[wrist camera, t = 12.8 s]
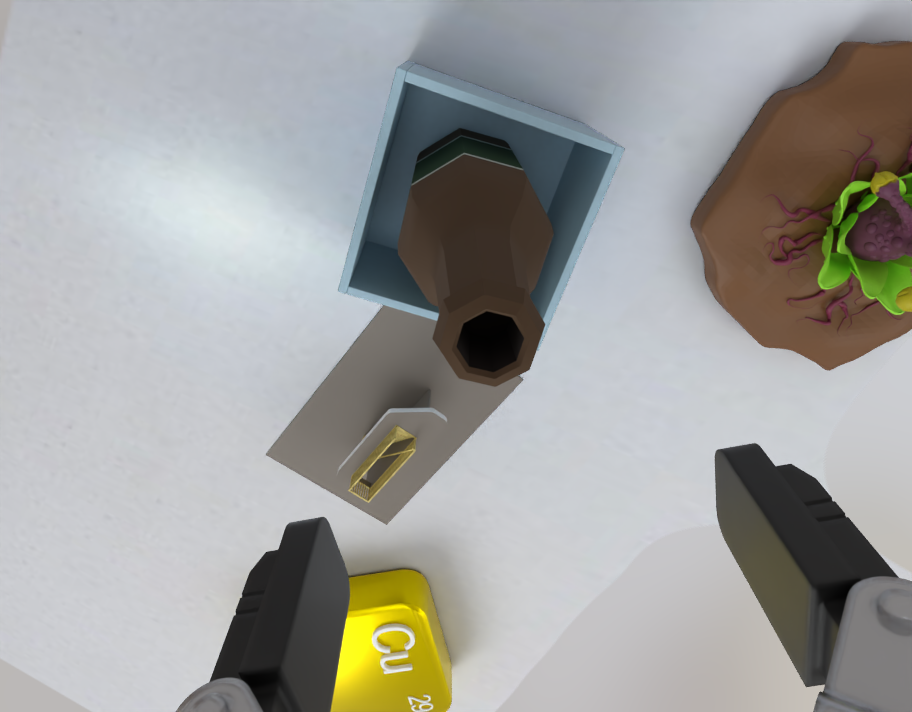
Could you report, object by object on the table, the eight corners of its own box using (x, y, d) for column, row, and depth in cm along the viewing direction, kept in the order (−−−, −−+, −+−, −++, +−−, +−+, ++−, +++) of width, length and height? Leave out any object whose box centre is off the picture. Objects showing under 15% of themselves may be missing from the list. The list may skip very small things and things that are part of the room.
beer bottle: (384, 198, 42) (322, 365, 21) (456, 97, 40) (470, 171, 18) (476, 266, 45) (506, 481, 23) (550, 175, 42) (662, 323, 20)
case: (358, 242, 44) (337, 291, 36) (407, 60, 39) (396, 67, 31) (520, 292, 46) (538, 351, 38) (587, 124, 41) (625, 148, 33)
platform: (265, 454, 52) (243, 508, 46) (396, 289, 46) (389, 326, 40) (386, 524, 55) (379, 582, 50) (523, 379, 49) (534, 426, 43)
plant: (637, 241, 45) (693, 300, 35) (871, -18, 38) (1026, -37, 28) (820, 391, 50) (914, 480, 40) (1052, 190, 44) (1234, 237, 33)
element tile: (262, 588, 59) (248, 632, 54) (423, 563, 57) (422, 606, 53) (309, 695, 65) (300, 741, 61) (455, 674, 64) (456, 720, 60)
